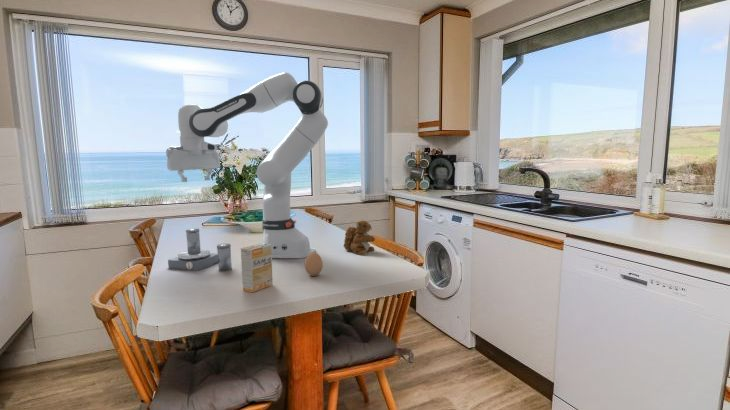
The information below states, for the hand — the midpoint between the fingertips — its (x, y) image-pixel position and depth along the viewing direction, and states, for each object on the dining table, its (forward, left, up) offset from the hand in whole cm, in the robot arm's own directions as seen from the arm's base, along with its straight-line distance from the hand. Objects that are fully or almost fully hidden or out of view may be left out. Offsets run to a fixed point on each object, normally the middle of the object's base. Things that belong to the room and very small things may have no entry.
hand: (196, 181), depth 154 cm
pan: (-8, +13, -27) cm, 31 cm away
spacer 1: (-8, +13, -26) cm, 30 cm away
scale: (-8, +13, -30) cm, 34 cm away
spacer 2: (-23, +16, -30) cm, 41 cm away
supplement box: (-45, +30, -31) cm, 62 cm away
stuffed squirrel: (-62, -20, -31) cm, 72 cm away
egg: (-57, +15, -31) cm, 66 cm away
